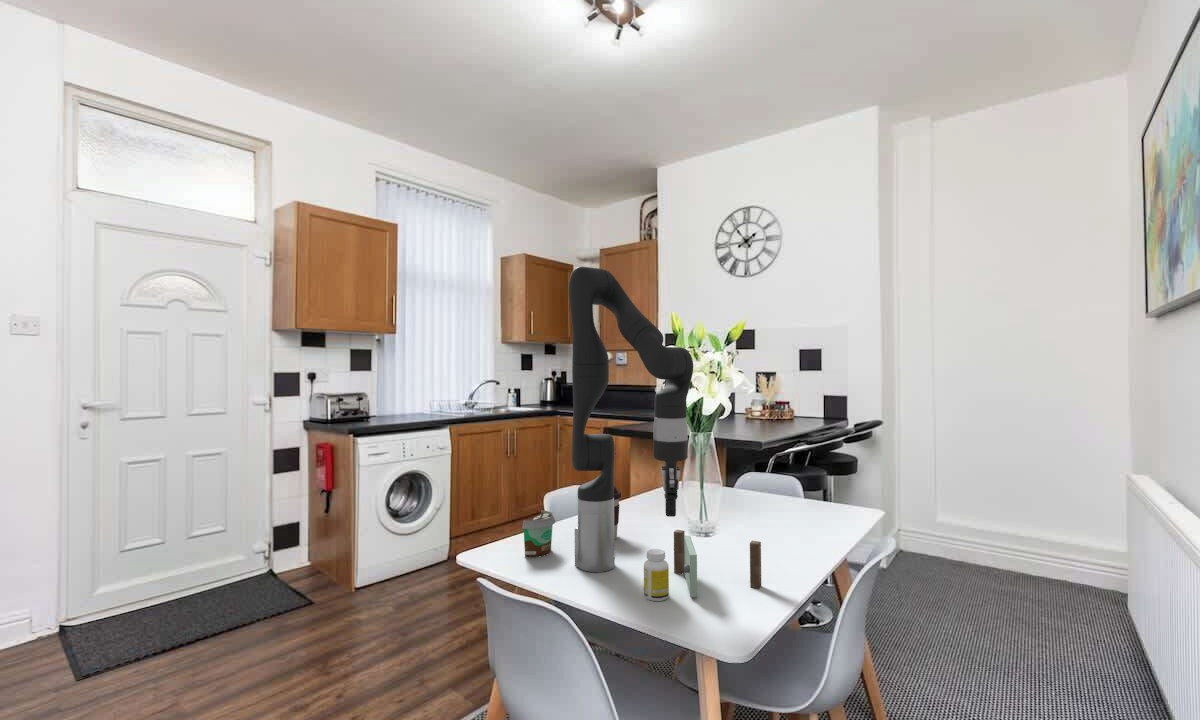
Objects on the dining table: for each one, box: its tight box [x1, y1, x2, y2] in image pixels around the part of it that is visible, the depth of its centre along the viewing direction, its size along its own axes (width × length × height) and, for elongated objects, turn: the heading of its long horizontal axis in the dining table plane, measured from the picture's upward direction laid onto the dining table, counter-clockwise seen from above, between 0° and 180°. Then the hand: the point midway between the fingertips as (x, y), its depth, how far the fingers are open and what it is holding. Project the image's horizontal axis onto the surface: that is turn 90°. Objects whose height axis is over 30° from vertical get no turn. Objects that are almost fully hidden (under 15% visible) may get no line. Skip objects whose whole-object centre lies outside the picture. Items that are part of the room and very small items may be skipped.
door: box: [683, 535, 698, 598], centre depth 126 cm, size 14×3×9 cm, turn 176°
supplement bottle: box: [643, 548, 670, 602], centre depth 120 cm, size 5×5×10 cm
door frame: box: [673, 529, 762, 590], centre depth 130 cm, size 20×2×10 cm, turn 60°
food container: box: [522, 509, 556, 558], centre depth 150 cm, size 12×6×10 cm, turn 161°
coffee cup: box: [614, 485, 622, 540], centre depth 164 cm, size 10×10×15 cm
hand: (670, 515), depth 122 cm, fingers closed
